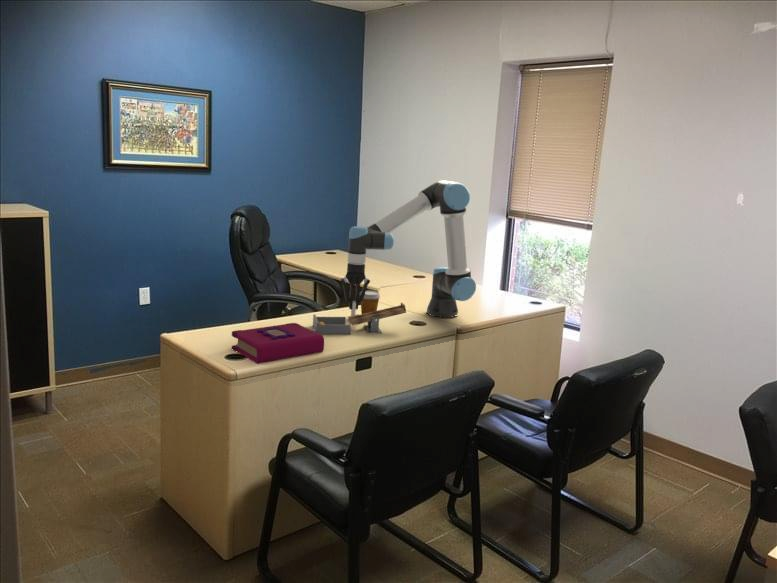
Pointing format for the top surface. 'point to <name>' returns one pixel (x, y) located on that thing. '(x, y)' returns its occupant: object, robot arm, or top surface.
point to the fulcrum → (373, 325)
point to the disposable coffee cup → (370, 302)
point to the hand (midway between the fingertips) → (353, 316)
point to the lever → (377, 314)
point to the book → (277, 342)
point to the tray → (331, 325)
